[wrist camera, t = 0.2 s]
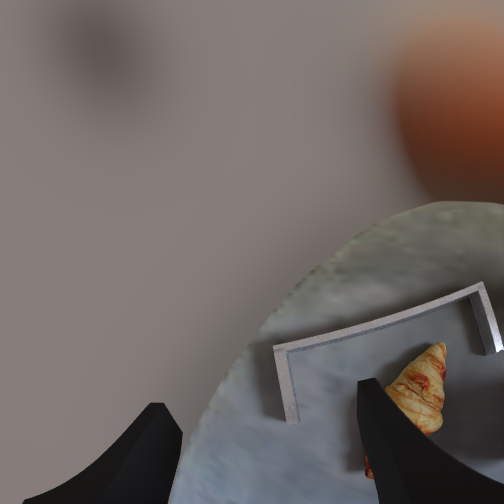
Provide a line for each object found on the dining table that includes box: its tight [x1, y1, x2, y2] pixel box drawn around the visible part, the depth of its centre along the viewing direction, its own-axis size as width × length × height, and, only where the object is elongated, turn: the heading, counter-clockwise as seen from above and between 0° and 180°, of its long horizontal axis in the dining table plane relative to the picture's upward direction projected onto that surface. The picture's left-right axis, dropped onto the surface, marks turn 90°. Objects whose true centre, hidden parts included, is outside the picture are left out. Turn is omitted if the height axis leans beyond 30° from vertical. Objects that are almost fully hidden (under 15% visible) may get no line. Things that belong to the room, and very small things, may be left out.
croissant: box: [365, 342, 447, 479], centre depth 30 cm, size 21×10×8 cm, turn 148°
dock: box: [273, 281, 503, 426], centre depth 34 cm, size 11×33×4 cm, turn 99°
